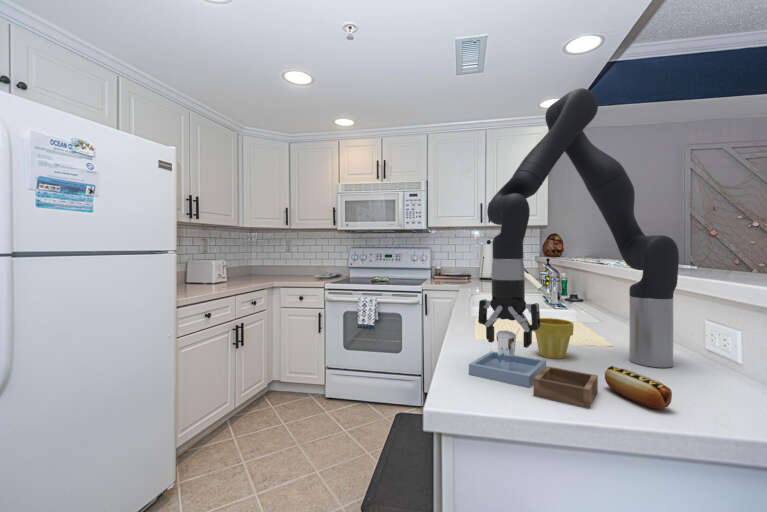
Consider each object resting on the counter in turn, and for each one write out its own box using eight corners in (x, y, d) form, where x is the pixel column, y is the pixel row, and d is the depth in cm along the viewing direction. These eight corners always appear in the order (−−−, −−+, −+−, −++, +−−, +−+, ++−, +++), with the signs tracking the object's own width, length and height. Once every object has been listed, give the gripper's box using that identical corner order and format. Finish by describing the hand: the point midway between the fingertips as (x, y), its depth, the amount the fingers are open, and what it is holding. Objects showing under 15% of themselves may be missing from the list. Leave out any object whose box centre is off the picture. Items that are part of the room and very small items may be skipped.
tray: (491, 360, 97) (491, 351, 97) (546, 370, 89) (546, 360, 89) (468, 374, 86) (468, 364, 86) (529, 387, 78) (529, 376, 78)
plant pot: (575, 353, 103) (575, 319, 103) (571, 363, 95) (571, 326, 95) (536, 348, 109) (536, 316, 109) (529, 357, 100) (529, 322, 100)
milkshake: (521, 372, 85) (520, 329, 85) (497, 370, 86) (497, 328, 86) (518, 366, 89) (518, 325, 89) (495, 364, 90) (495, 325, 90)
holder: (546, 381, 81) (546, 366, 81) (597, 392, 75) (597, 375, 75) (533, 395, 73) (533, 378, 73) (589, 408, 67) (589, 390, 67)
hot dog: (654, 415, 65) (654, 388, 64) (597, 388, 78) (597, 365, 78) (677, 413, 65) (677, 386, 65) (617, 386, 78) (618, 363, 78)
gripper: (543, 277, 86) (543, 345, 86) (485, 275, 95) (486, 337, 95) (534, 279, 80) (534, 352, 80) (473, 277, 89) (474, 343, 89)
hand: (508, 344), depth 88 cm, fingers open, 8 cm apart
